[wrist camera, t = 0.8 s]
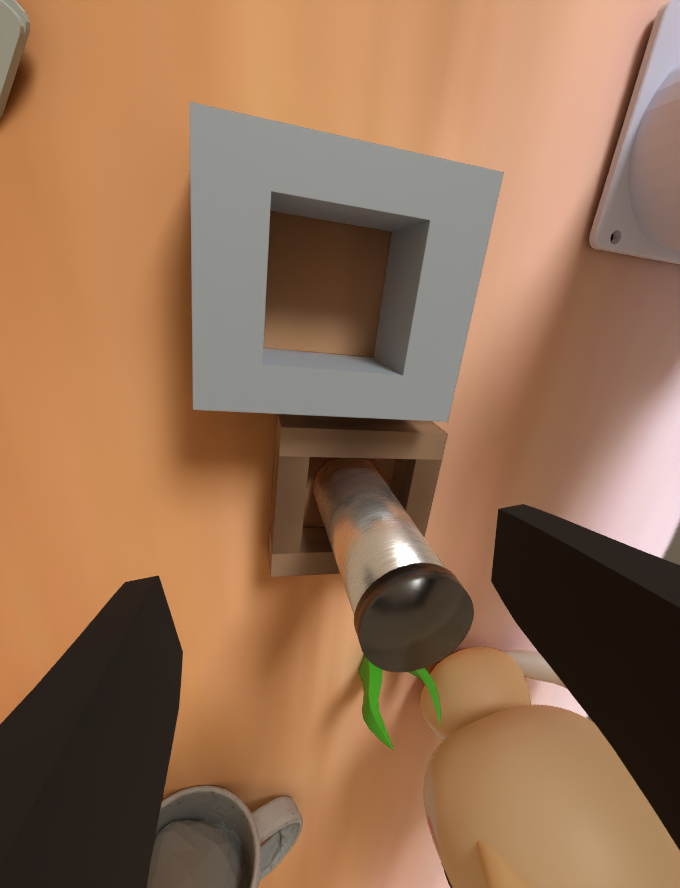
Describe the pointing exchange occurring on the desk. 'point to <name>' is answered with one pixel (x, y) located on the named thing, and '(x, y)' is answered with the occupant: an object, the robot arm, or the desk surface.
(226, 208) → the dock
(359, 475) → the pin
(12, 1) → the metal bracket
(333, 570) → the mount
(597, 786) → the kitten
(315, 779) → the desk surface
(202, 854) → the ceramic mug
